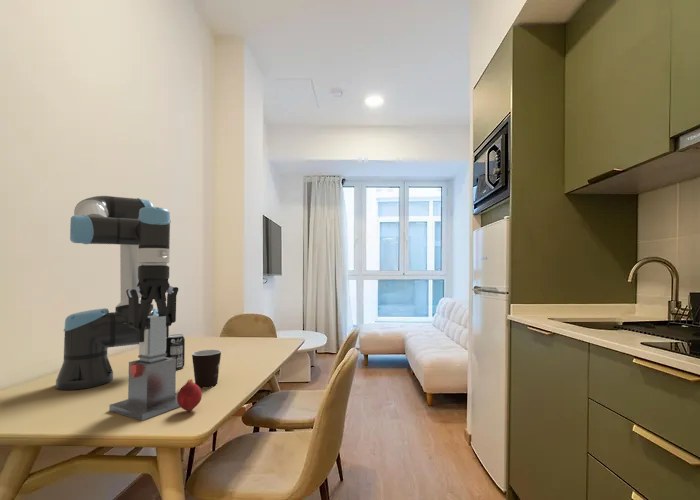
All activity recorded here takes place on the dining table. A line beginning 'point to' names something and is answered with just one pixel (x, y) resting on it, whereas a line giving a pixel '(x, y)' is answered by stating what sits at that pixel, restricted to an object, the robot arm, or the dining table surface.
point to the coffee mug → (206, 367)
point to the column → (155, 340)
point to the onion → (189, 396)
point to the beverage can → (176, 349)
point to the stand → (149, 390)
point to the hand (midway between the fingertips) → (152, 352)
